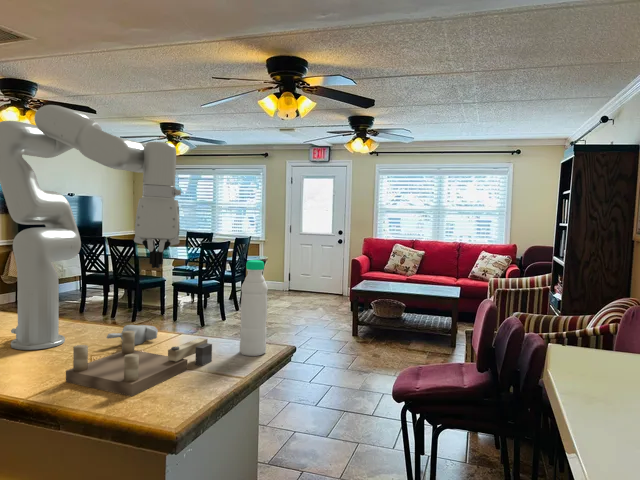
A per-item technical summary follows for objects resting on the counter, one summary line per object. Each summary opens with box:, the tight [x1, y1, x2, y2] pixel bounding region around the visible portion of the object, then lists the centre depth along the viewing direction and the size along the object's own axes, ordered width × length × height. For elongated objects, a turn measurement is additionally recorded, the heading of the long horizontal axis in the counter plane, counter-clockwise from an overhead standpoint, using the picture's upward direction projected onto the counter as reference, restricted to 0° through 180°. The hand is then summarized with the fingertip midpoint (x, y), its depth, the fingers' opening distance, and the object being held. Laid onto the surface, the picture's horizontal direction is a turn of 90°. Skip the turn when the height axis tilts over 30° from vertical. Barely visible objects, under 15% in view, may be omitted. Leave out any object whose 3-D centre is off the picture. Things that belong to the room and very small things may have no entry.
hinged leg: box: [167, 337, 208, 361], centre depth 115 cm, size 12×2×3 cm, turn 158°
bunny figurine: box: [106, 324, 159, 346], centre depth 133 cm, size 10×5×15 cm
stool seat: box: [65, 331, 213, 397], centre depth 110 cm, size 19×26×8 cm
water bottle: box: [239, 259, 268, 357], centre depth 126 cm, size 7×7×25 cm
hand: (156, 267), depth 117 cm, fingers closed
